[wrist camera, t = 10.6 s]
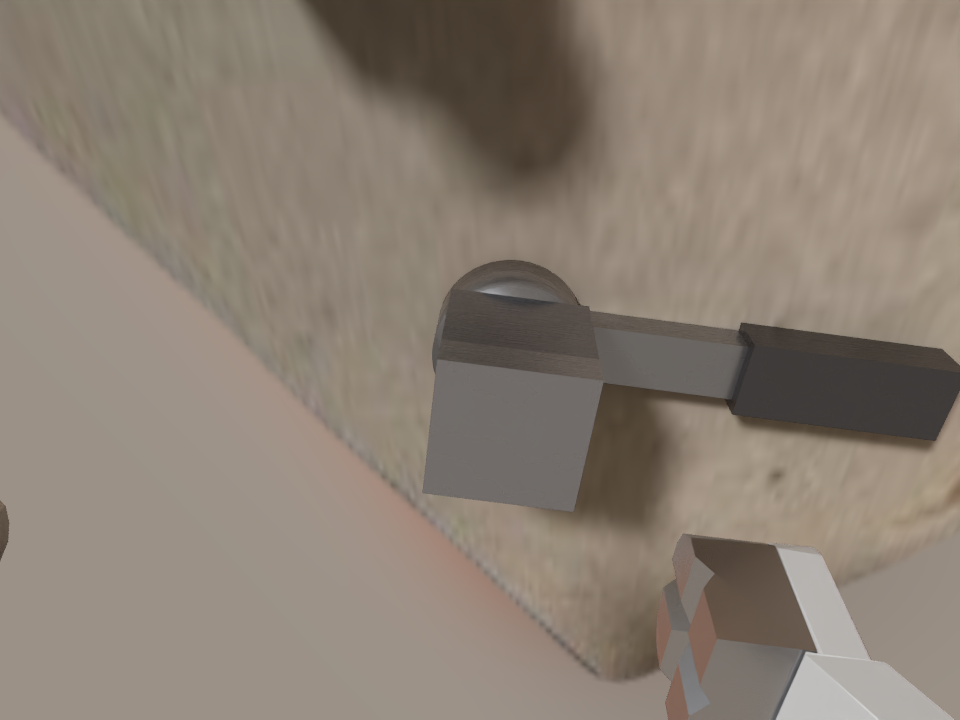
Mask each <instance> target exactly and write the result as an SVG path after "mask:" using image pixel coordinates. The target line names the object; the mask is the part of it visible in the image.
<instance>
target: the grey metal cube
mask: <svg viewBox="0 0 960 720" xmlns="http://www.w3.org/2000/svg"><path fill="white" fill-rule="evenodd" d="M603 382H604V379H603V374H602V369H601V364H600V359H599V354H598V349H597V344H596V339H595V334H594V329H593V324H592V319H591V314H590V309H589V307H588V306H581V305H573V304H566V303H558V302H551V301H543V300H535V299H528V298H520V297H513V296H505V295H498V294H490V293H482V292H475V291H467V290H460V289H452V288H451V293H450V298H449V303H448V308H447V313H446V318H445V323H444V328H443V333H442V338H441V343H440V348H439V353H438V358H437V366H436V375H435V384H434V393H433V402H432V411H431V420H430V429H429V438H428V447H427V456H426V465H425V474H424V483H423V492H422V493H426V494H434V495H442V496H450V497H457V498H465V499H473V500H481V501H489V502H497V503H505V504H513V505H521V506H528V507H536V508H544V509H552V510H560V511H568V512H574V508H575V504H576V500H577V495H578V491H579V487H580V482H581V478H582V474H583V469H584V465H585V461H586V456H587V452H588V448H589V443H590V439H591V435H592V430H593V426H594V421H595V417H596V413H597V408H598V404H599V400H600V395H601V391H602V387H603Z"/></svg>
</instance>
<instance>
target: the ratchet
mask: <svg viewBox="0 0 960 720" xmlns="http://www.w3.org/2000/svg"><path fill="white" fill-rule="evenodd" d="M452 289H460V290H467V291H475V292H482V293H490V294H498V295H505V296H513V297H520V298H528V299H535V300H543V301H551V302H558V303H566V304H573V305H578V302H577V300H576V298H575V296H574V294H573V293H572V291H571V290H570V288H569V287H568V286H567V285H566V284H565V283H564V281H563V280H561V279H560V278H559V277H558V276H557V275H555V274H554V273H552V272H551V271H549V270H547V269H545V268H543V267H541V266H539V265H536V264H533V263H529V262H524V261H517V260H504V261H496V262H491V263H488V264H485V265H482V266H480V267H477V268H475V269H473V270H472V271H470V272H468V273H467V274H465V275H464V276H463V277H462V278H461V279H459V280H458V281H457V282H456V283H455V285H454V286H453V287H452ZM450 293H451V290H450V291H449V292H448V294H447V296H446V298H445V300H444V302H443V305H442V308H441V311H440V316H439V320H438V325H437V329H436V334H435V339H434V344H433V350H432V360H433V368H434V371H435V375H436V366H437V358H438V353H439V348H440V343H441V338H442V333H443V328H444V323H445V318H446V313H447V308H448V303H449V298H450ZM590 314H591V319H592V324H593V329H594V334H595V339H596V344H597V349H598V354H599V359H600V364H601V369H602V374H603V379H604V382H603V383H608V384H616V385H624V386H631V387H639V388H647V389H654V390H662V391H670V392H677V393H685V394H693V395H700V396H708V397H716V398H724V399H725V400H726V402H727V404H728V406H729V409H730V411H731V413H732V414H733V415H740V416H748V417H756V418H764V419H771V420H779V421H787V422H794V423H802V424H810V425H817V426H825V427H833V428H841V429H848V430H856V431H864V432H871V433H879V434H887V435H895V436H902V437H910V438H918V439H925V440H933V441H935V440H936V438H937V436H938V434H939V432H940V430H941V428H942V426H943V424H944V422H945V420H946V418H947V416H948V413H949V411H950V409H951V407H952V405H953V403H954V401H955V399H956V397H957V395H958V393H959V391H960V365H959V364H957V363H956V362H955V361H954V360H953V359H952V358H951V357H950V356H949V355H948V354H947V353H946V352H945V351H944V350H943V349H937V348H929V347H921V346H914V345H906V344H899V343H891V342H884V341H876V340H868V339H861V338H853V337H846V336H838V335H831V334H823V333H815V332H808V331H800V330H793V329H785V328H778V327H770V326H762V325H755V324H747V323H741V325H740V329H739V331H736V330H729V329H721V328H713V327H706V326H698V325H691V324H683V323H675V322H668V321H660V320H653V319H645V318H638V317H630V316H622V315H615V314H607V313H600V312H592V311H590Z"/></svg>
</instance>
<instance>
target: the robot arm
mask: <svg viewBox="0 0 960 720" xmlns="http://www.w3.org/2000/svg"><path fill="white" fill-rule="evenodd" d="M8 532H9V520H8V515H7V511H6V506H5V505H4V504H3V503H2V502H1V501H0V560H1V558H2V555H3V553H4V550H5V548H6V545H7V543H8V534H9V533H8ZM672 561H673V566H674V571H675V576H676V579H675V580H673V581H672V582H671V583H669V584H668V585H666V586H665V587H664V588H663V592H662V596H661V600H660V604H659V607H658V615H657V625H656V645H657V655H658V661H659V668H660V670H661V671H662V672H663V673H664V674H665V675H666V676H667V678H668V679H669V680H671V682H672V683H671V686H670V690H669V693H668V696H667V699H666V709H667V714H668V720H955V719H953V718H952V717H951V716H950V715H949V714H947V713H946V712H945V711H944V710H943V709H941V708H940V707H939V706H938V705H937V704H935V703H934V702H933V701H932V700H930V699H929V698H928V697H927V696H926V695H924V694H923V693H922V692H921V691H920V690H918V689H917V688H916V687H915V686H914V685H912V684H911V683H910V682H909V681H908V680H906V679H905V678H904V677H903V676H902V675H900V674H899V673H898V672H897V671H896V670H894V669H893V668H892V667H891V666H889V665H888V664H887V663H886V662H879V661H873V660H871V658H870V656H869V654H868V652H867V650H866V648H865V645H864V643H863V641H862V639H861V637H860V635H859V633H858V631H857V629H856V626H855V624H854V622H853V620H852V618H851V616H850V614H849V612H848V610H847V608H846V606H845V603H844V601H843V599H842V597H841V595H840V593H839V591H838V589H837V587H836V585H835V583H834V580H833V578H832V576H831V574H830V572H829V570H828V568H827V566H826V564H825V562H824V559H823V557H822V555H821V553H820V552H818V551H817V550H816V549H815V548H814V547H808V546H798V545H788V544H778V543H769V544H766V543H759V542H750V541H742V540H733V539H725V538H716V537H708V536H699V535H691V534H682V536H681V538H680V539H679V541H678V542H677V545H676V548H675V552H674V555H673V558H672Z"/></svg>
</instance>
